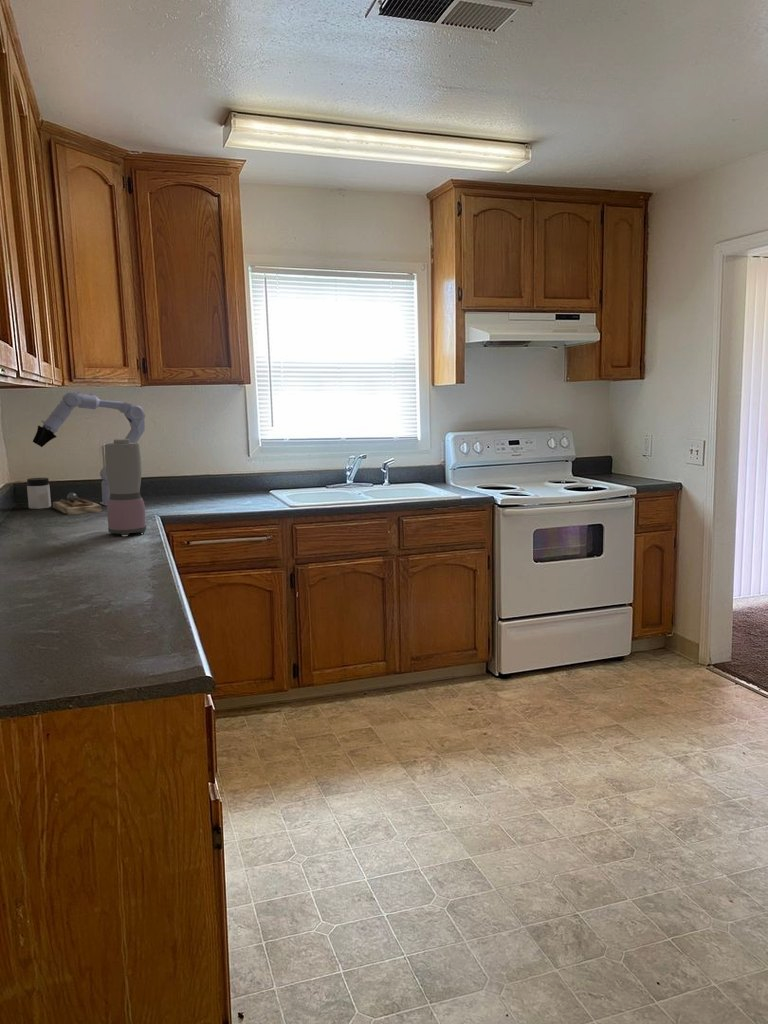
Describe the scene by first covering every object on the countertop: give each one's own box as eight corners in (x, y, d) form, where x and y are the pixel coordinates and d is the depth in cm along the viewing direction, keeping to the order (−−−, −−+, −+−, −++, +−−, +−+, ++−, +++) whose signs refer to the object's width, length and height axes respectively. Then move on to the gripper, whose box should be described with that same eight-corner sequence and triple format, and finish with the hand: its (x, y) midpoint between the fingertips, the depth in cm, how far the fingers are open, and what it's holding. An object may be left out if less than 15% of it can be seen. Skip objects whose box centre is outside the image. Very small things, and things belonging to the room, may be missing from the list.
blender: (153, 533, 255) (147, 439, 249) (118, 538, 246) (112, 441, 241) (131, 527, 266) (126, 437, 260) (98, 532, 257) (91, 439, 252)
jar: (32, 509, 306) (30, 480, 304) (25, 507, 312) (23, 478, 310) (54, 507, 312) (52, 478, 310) (47, 505, 318) (45, 477, 316)
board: (85, 504, 318) (85, 496, 318) (101, 511, 301) (101, 503, 300) (53, 507, 311) (52, 499, 310) (67, 514, 293) (67, 506, 293)
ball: (76, 501, 313) (75, 491, 312) (79, 502, 310) (78, 492, 309) (66, 501, 310) (65, 492, 310) (68, 503, 307) (68, 493, 307)
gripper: (44, 409, 308) (24, 436, 305) (53, 413, 297) (32, 440, 294) (59, 420, 312) (39, 446, 310) (68, 423, 301) (48, 451, 298)
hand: (37, 444), depth 302 cm, fingers open, 7 cm apart
